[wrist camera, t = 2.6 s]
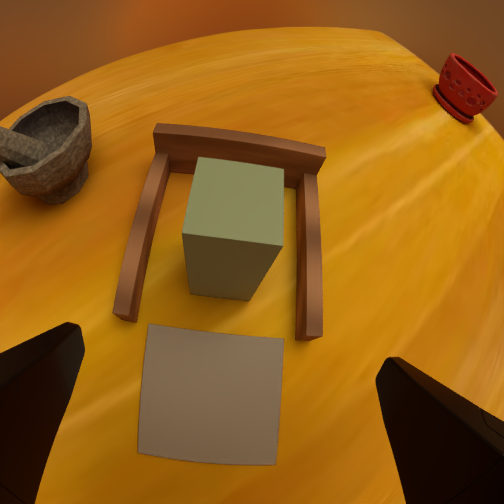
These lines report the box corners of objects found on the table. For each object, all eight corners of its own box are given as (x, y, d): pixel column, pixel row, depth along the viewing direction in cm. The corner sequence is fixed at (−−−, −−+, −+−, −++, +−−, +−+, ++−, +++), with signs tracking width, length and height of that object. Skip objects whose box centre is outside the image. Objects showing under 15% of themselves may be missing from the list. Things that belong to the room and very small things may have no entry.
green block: (249, 301, 22) (283, 245, 13) (190, 294, 21) (181, 232, 12) (253, 247, 24) (283, 168, 15) (198, 240, 23) (198, 156, 14)
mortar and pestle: (88, 132, 26) (64, 43, 16) (120, 181, 24) (90, 74, 14) (8, 185, 22) (-40, 109, 11) (25, 247, 20) (-47, 168, 9)
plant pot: (423, 80, 48) (445, 44, 37) (464, 108, 48) (487, 77, 38) (432, 106, 43) (461, 65, 32) (477, 138, 43) (507, 104, 32)
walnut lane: (310, 340, 21) (337, 330, 17) (122, 319, 20) (100, 303, 15) (307, 181, 28) (324, 147, 23) (161, 161, 26) (156, 123, 21)
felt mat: (274, 463, 17) (275, 464, 17) (138, 451, 16) (137, 452, 15) (282, 339, 21) (283, 338, 21) (149, 324, 20) (148, 323, 20)
